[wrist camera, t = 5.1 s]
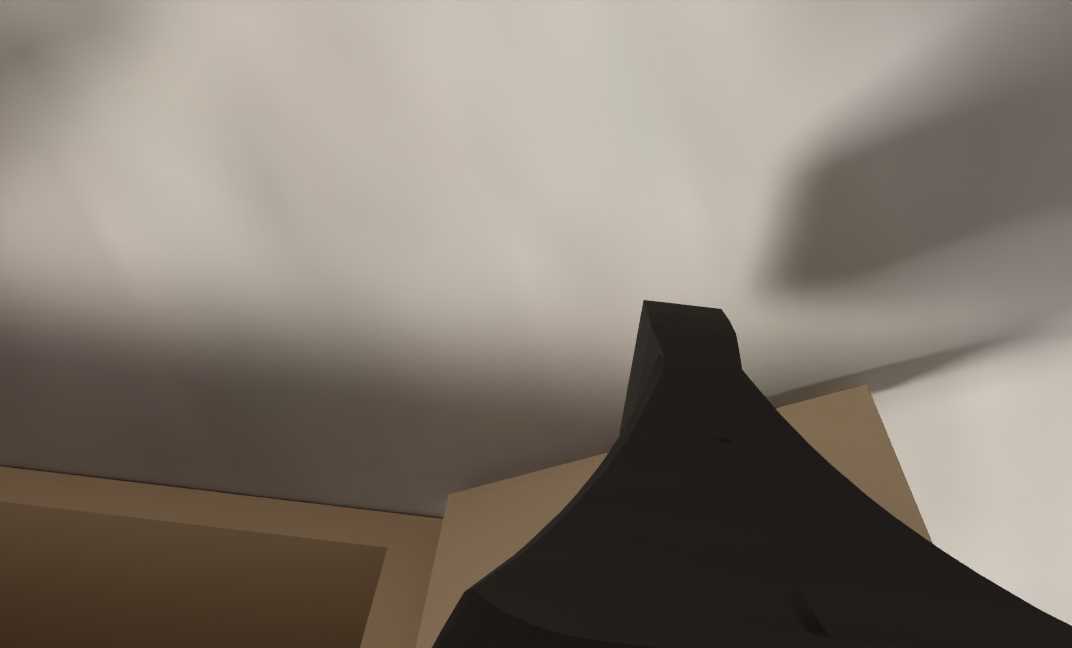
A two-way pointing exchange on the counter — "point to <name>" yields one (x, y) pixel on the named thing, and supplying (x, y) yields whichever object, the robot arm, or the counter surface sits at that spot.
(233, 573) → the cardboard box
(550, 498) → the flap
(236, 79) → the counter surface
